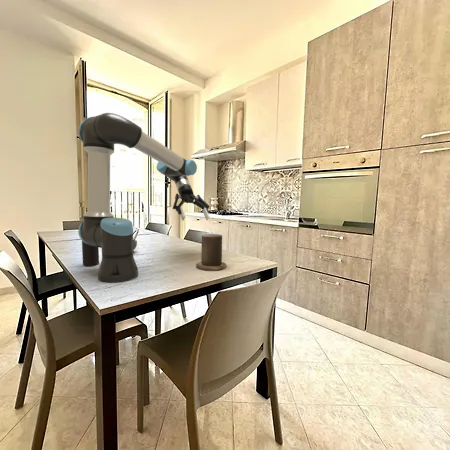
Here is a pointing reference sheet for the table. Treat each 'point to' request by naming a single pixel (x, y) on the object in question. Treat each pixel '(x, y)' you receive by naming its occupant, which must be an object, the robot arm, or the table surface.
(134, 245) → the mortar and pestle
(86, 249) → the bottle
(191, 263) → the table surface
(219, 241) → the pillar candle
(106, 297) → the table surface
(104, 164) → the robot arm
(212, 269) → the trivet
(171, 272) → the table surface
